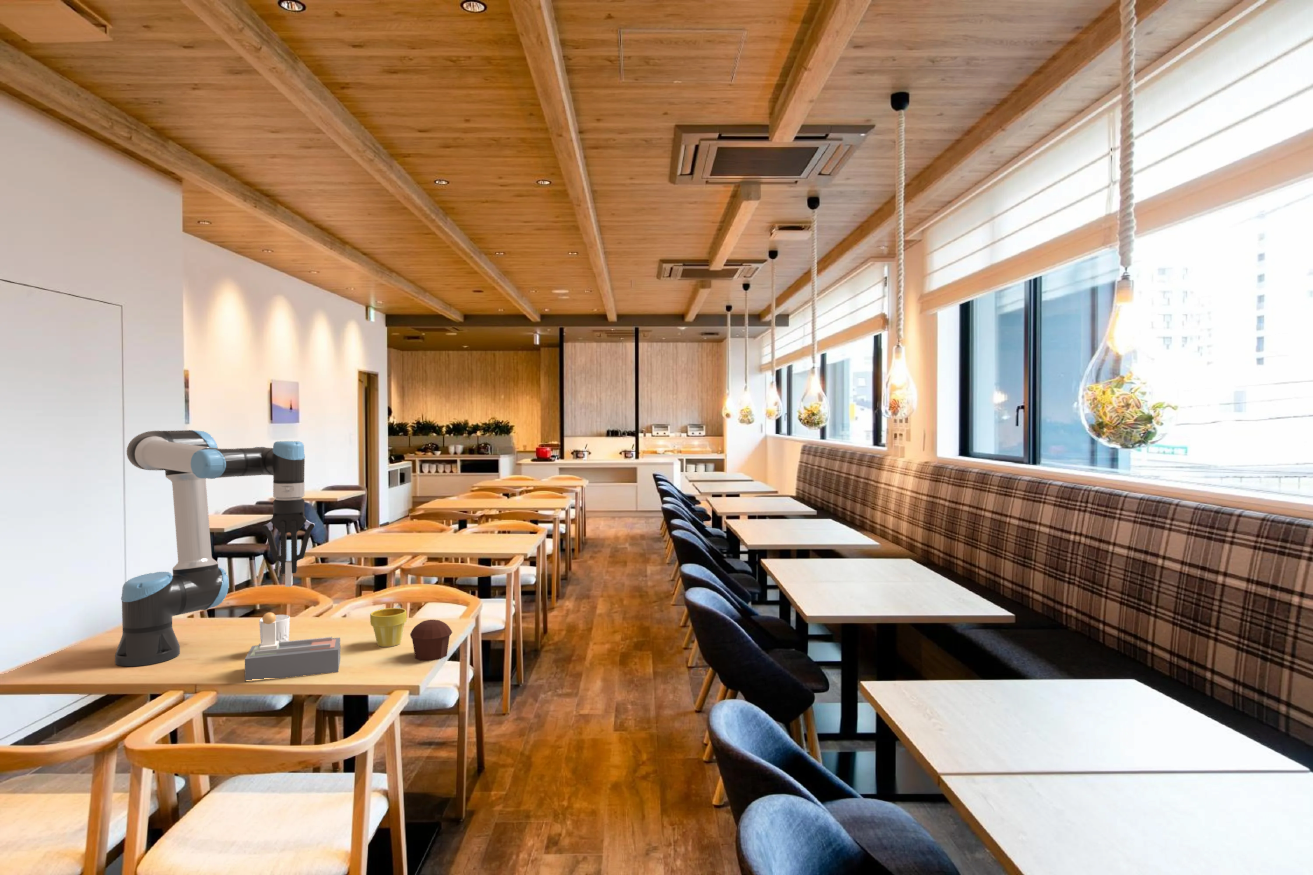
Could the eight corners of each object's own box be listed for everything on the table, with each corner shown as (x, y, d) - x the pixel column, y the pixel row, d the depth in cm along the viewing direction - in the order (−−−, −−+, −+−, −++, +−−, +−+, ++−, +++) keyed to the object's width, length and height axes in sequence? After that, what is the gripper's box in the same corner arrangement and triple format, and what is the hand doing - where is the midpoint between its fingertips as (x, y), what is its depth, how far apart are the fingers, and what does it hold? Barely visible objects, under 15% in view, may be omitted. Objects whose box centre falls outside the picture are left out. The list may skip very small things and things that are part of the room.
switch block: (252, 667, 200) (252, 642, 200) (340, 658, 208) (340, 633, 208) (244, 682, 189) (244, 655, 189) (338, 671, 197) (337, 645, 197)
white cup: (295, 648, 217) (295, 615, 217) (279, 657, 209) (279, 622, 209) (270, 647, 218) (270, 614, 218) (253, 656, 210) (253, 621, 210)
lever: (262, 646, 198) (262, 610, 198) (279, 644, 199) (278, 609, 199) (259, 651, 193) (259, 615, 193) (276, 650, 195) (276, 613, 194)
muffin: (401, 659, 207) (401, 624, 207) (426, 648, 218) (426, 614, 217) (436, 664, 203) (436, 628, 203) (460, 652, 214) (460, 618, 213)
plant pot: (364, 644, 222) (363, 611, 221) (396, 636, 229) (396, 605, 229) (380, 651, 215) (380, 618, 214) (413, 643, 222) (413, 611, 222)
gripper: (259, 500, 192) (259, 590, 193) (314, 499, 197) (314, 586, 198) (263, 497, 199) (263, 584, 200) (316, 496, 204) (316, 580, 205)
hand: (288, 585), depth 199 cm, fingers closed
